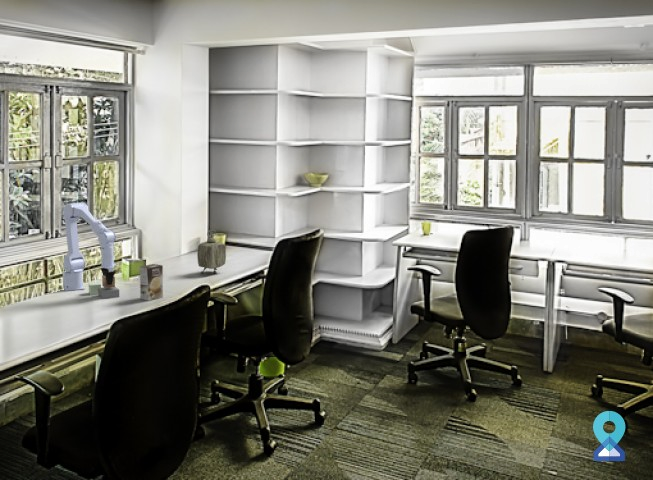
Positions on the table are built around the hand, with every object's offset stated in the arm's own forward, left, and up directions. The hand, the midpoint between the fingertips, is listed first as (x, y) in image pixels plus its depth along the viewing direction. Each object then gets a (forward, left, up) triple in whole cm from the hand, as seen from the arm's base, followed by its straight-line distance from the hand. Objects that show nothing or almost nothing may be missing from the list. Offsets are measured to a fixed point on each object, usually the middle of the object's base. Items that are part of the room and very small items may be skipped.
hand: (108, 283), depth 352 cm
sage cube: (-5, +8, -6) cm, 11 cm away
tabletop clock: (+63, +28, -7) cm, 69 cm away
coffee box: (+18, -12, -7) cm, 23 cm away
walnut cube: (0, 0, -2) cm, 2 cm away
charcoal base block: (0, 0, -7) cm, 7 cm away
